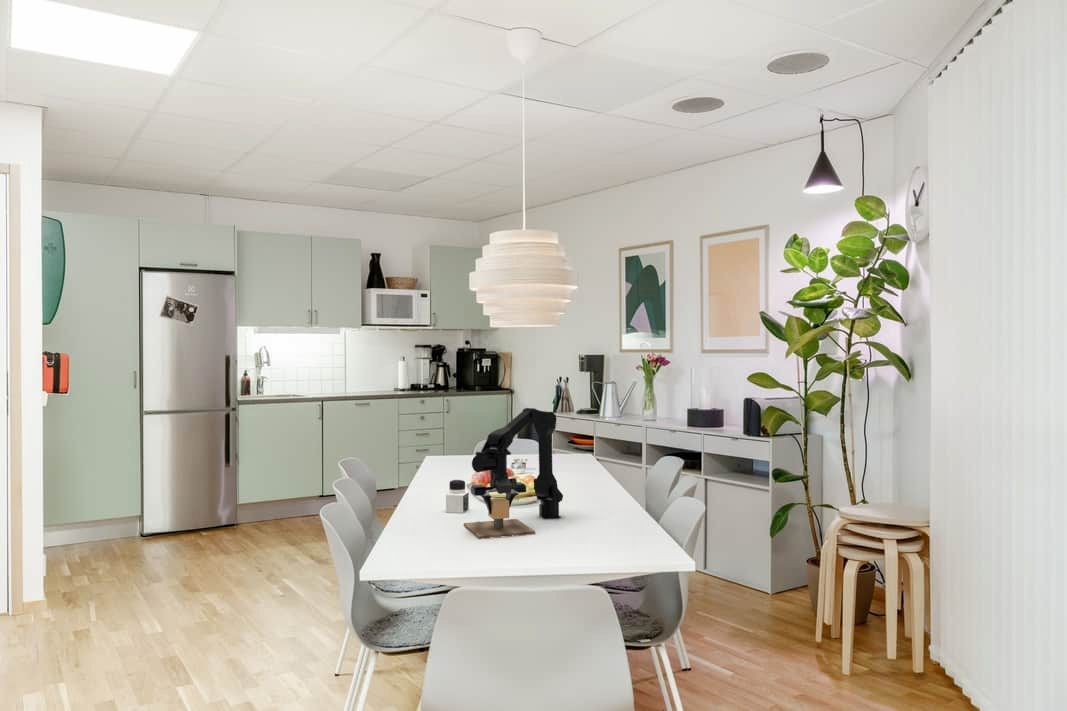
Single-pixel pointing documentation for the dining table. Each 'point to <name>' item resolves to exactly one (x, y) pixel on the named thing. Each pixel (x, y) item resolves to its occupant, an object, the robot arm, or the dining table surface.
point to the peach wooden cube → (499, 508)
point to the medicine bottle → (457, 497)
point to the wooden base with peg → (498, 528)
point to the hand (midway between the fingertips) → (498, 513)
